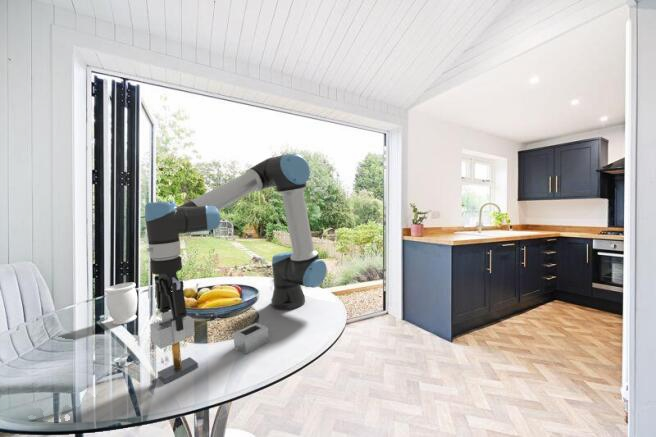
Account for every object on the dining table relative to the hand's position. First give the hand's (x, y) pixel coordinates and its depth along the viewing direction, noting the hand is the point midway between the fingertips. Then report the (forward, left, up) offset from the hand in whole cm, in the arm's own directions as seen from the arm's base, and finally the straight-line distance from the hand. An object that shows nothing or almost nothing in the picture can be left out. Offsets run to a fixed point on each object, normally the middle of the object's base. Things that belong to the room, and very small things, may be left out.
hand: (174, 337), depth 82 cm
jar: (-2, -58, -11) cm, 59 cm away
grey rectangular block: (0, 0, 0) cm, 0 cm away
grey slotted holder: (-22, +5, -11) cm, 25 cm away
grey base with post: (0, 0, -11) cm, 11 cm away
